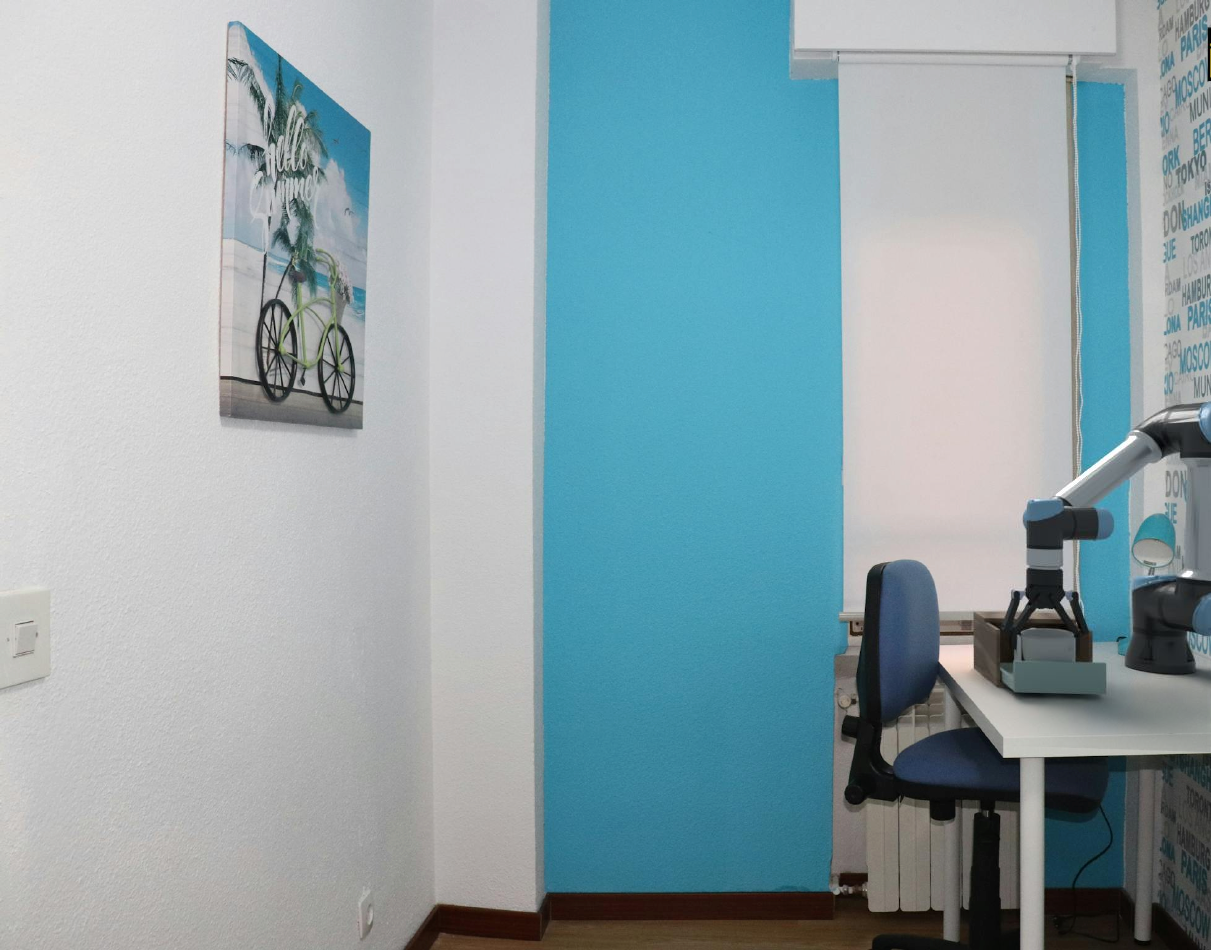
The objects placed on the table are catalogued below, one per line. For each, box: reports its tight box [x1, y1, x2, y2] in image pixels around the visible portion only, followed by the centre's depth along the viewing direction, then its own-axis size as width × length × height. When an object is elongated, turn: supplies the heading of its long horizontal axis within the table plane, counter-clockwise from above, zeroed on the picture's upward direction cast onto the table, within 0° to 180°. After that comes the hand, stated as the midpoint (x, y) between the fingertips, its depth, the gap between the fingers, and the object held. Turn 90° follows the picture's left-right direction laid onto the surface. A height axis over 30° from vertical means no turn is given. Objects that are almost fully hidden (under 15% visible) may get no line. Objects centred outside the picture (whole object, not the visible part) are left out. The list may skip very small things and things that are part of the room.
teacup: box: [1020, 628, 1074, 662], centre depth 209 cm, size 14×11×8 cm
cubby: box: [973, 611, 1094, 688], centre depth 219 cm, size 21×20×14 cm
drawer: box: [1000, 661, 1107, 695], centre depth 209 cm, size 19×20×7 cm
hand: (1044, 665), depth 209 cm, fingers closed on teacup, 11 cm apart
